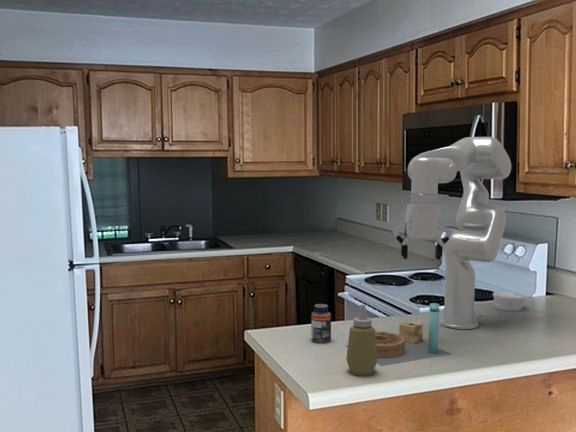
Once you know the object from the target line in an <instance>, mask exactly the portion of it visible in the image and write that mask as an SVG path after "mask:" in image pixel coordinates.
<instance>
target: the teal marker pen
mask: <svg viewBox="0 0 576 432" xmlns="http://www.w3.org/2000/svg"><path fill="white" fill-rule="evenodd" d="M439 319H440V303H436V302H432V303H429V325H428V327H429V328H428V343H429V353H432V354H436V353H438V348H439V331H440V330H439V329H440V327H439V325H440V323H439Z"/></svg>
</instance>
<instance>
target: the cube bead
mask: <svg viewBox="0 0 576 432" xmlns="http://www.w3.org/2000/svg"><path fill="white" fill-rule="evenodd" d="M423 331H424V324H423V323H420V322H419V323H418V322H416V321H415V322H414V321H410V320H409V321H408V320H407V321H405V322H401V323H399V331H398V332H399V333H398V335H400V336H402V337H404V340H405V342H408V343H412V344H414V343H417V342H419V341H423V335H424V333H423Z"/></svg>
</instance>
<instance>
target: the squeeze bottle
mask: <svg viewBox="0 0 576 432" xmlns="http://www.w3.org/2000/svg"><path fill="white" fill-rule="evenodd" d="M367 313H368V312H367V308H366V304H360V305H359V310H358V315H357V316H356V317H354V318H353V325H352V326H350V328H349V334H348V341H347V345H348V347H347V349H346V350H347V351H346V357H345V360H346V364H347V366H348V369H349V371H350V373H351V374H353V375H355V376H371V375H373V374H374V371H375V369H376V365H377V348H376V336H375V331H376V328H374V326H373V325H372V320H373V319H372V318H370V317H368V314H367Z"/></svg>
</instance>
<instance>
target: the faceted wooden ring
mask: <svg viewBox="0 0 576 432" xmlns="http://www.w3.org/2000/svg"><path fill="white" fill-rule="evenodd" d="M375 336H376V348H377V358H392V357H398V356H400V355H402V354H404V353H405V340H404V337H402V336H400V335H399V333H398V334H397V333H393V332H391V331H390V332H388V331H384V330H383V331H382V330H381V331H379V330H375Z"/></svg>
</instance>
